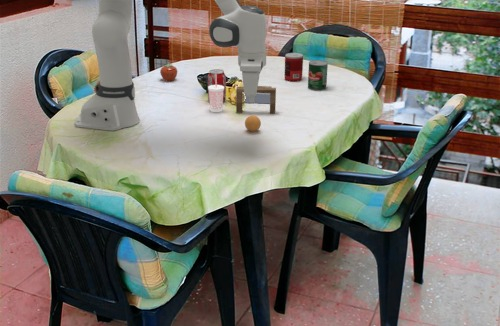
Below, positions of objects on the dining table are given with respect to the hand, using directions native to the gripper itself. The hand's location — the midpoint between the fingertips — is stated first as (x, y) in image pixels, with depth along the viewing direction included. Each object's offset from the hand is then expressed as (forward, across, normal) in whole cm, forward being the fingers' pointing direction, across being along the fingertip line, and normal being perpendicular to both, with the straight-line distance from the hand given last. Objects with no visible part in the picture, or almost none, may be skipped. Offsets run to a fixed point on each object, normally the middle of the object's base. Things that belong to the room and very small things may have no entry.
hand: (252, 101), depth 200 cm
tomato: (+14, -68, -40) cm, 81 cm away
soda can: (+14, -42, -16) cm, 47 cm away
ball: (+11, -9, 0) cm, 14 cm away
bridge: (+14, -29, 0) cm, 32 cm away
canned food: (+14, -74, +14) cm, 77 cm away
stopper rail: (+14, -54, 0) cm, 56 cm away
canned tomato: (+14, -62, +24) cm, 68 cm away
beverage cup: (+14, -30, -15) cm, 37 cm away
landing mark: (+14, -45, 0) cm, 47 cm away
